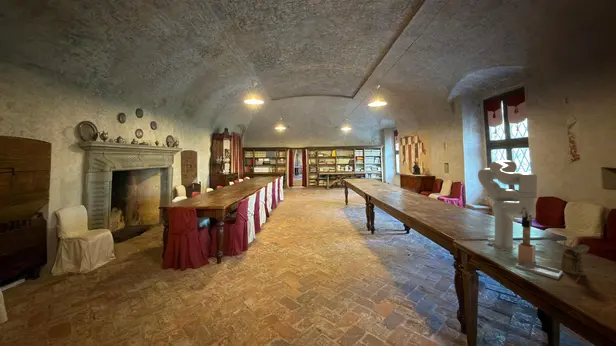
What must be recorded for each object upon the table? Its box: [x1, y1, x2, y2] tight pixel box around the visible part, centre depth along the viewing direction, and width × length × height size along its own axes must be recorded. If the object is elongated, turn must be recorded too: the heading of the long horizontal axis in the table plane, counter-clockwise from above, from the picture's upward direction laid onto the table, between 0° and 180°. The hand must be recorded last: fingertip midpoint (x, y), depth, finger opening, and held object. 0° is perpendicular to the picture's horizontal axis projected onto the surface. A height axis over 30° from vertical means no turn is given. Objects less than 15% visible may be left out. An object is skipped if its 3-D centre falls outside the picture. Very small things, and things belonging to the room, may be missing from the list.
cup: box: [517, 242, 537, 264], centre depth 132 cm, size 6×6×10 cm
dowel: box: [522, 217, 532, 245], centre depth 132 cm, size 3×3×16 cm
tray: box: [514, 260, 564, 280], centre depth 121 cm, size 16×10×2 cm, turn 33°
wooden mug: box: [558, 243, 590, 277], centre depth 117 cm, size 9×14×18 cm, turn 154°
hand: (526, 226), depth 132 cm, fingers closed on dowel, 3 cm apart
